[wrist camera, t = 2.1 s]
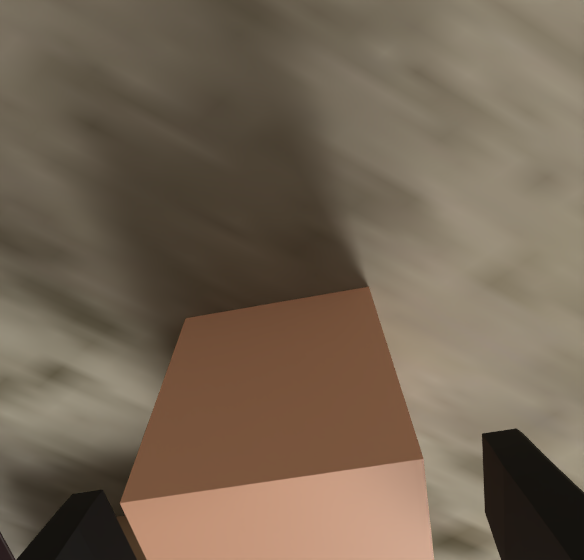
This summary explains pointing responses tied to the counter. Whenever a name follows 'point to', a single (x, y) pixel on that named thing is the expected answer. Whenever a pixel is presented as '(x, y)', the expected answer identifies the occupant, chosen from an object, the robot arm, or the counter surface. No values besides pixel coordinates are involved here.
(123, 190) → the counter surface
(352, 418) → the terracotta block
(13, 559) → the chocolate bar
